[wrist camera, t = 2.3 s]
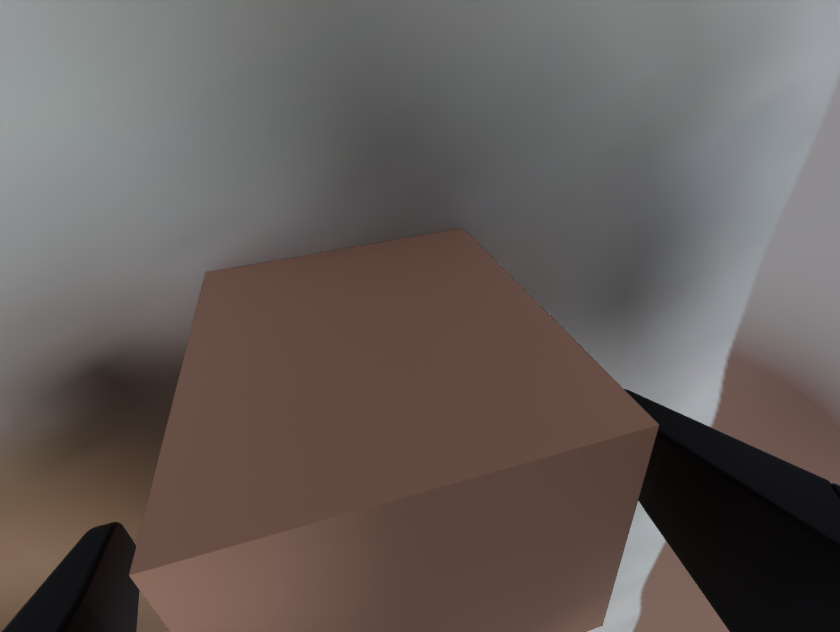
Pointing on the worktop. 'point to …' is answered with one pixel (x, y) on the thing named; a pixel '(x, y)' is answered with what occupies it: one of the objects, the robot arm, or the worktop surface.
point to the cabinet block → (388, 453)
